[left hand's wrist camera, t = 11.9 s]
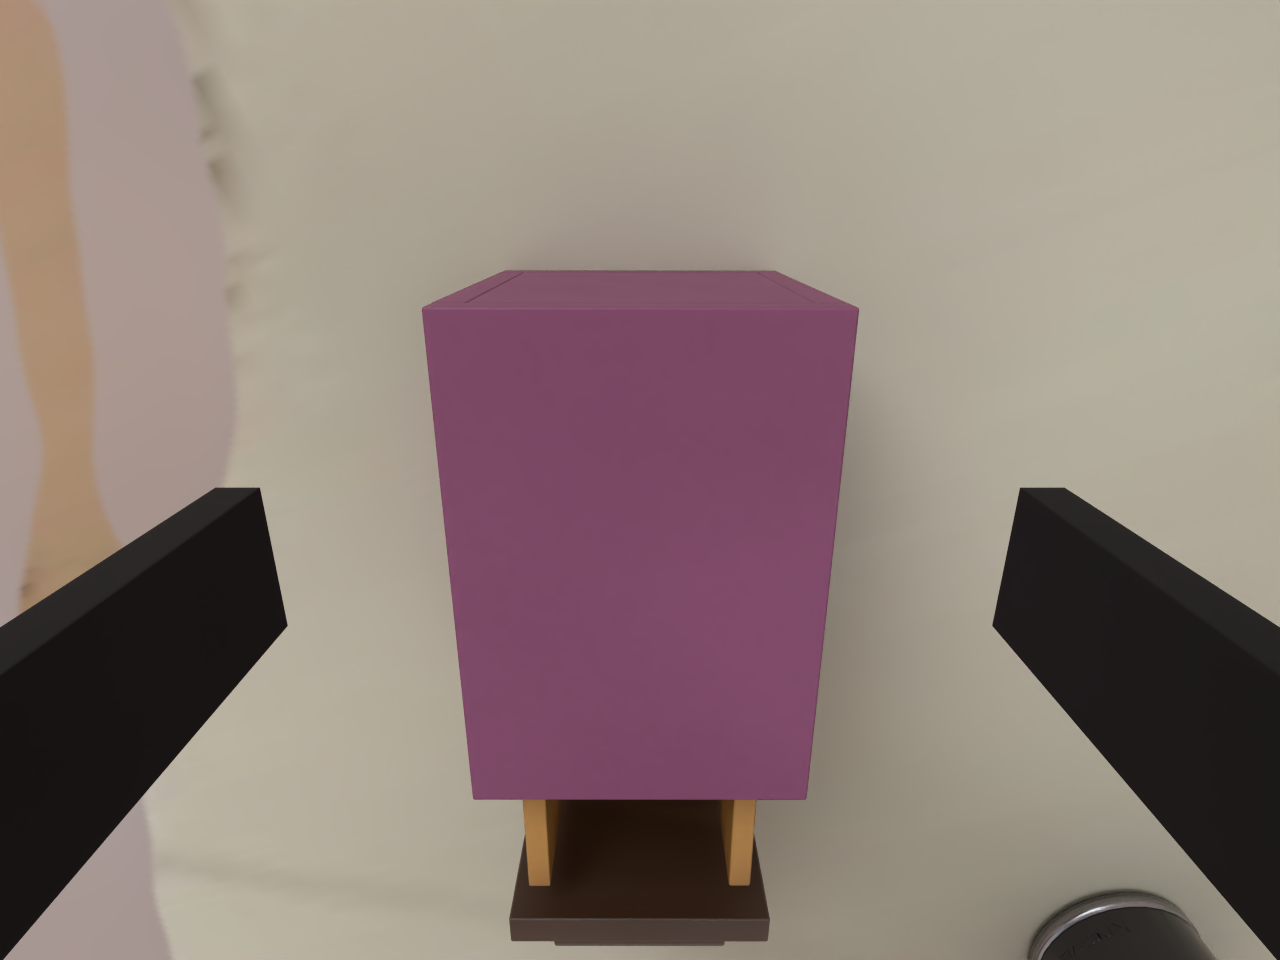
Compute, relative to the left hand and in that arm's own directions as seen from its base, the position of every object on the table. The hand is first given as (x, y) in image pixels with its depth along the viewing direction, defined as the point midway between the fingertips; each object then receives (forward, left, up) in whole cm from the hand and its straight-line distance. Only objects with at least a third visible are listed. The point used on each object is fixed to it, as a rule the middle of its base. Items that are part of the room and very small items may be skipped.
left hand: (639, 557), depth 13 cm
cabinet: (+4, 0, -19) cm, 19 cm away
